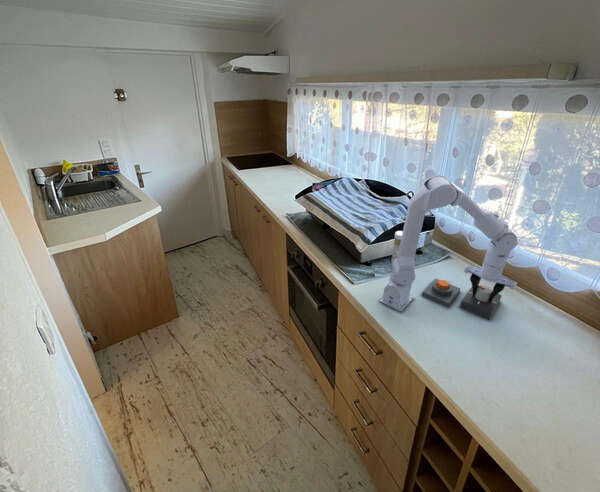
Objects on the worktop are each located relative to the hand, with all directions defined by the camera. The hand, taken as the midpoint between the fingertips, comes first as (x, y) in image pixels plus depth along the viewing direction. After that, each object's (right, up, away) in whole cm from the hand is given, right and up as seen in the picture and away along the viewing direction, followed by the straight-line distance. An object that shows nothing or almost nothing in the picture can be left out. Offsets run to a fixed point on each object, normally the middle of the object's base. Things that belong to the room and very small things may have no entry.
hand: (482, 297), depth 102 cm
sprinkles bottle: (-21, +10, +26) cm, 35 cm away
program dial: (0, 0, 0) cm, 0 cm away
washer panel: (0, -3, +2) cm, 3 cm away
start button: (-11, +3, +5) cm, 12 cm away
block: (-11, 0, +7) cm, 13 cm away
